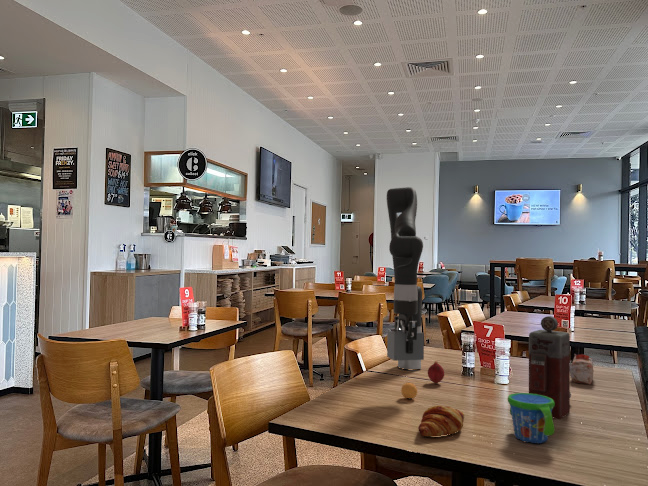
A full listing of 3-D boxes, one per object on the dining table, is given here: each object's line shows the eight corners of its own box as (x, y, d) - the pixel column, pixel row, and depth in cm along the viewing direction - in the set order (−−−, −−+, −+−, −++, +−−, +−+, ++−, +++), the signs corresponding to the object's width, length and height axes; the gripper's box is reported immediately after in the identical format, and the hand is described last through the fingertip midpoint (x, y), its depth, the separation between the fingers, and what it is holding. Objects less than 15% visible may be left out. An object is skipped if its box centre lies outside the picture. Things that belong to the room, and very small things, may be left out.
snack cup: (497, 428, 132) (497, 389, 132) (536, 428, 133) (536, 389, 133) (524, 451, 117) (524, 407, 117) (568, 451, 117) (568, 407, 117)
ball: (402, 378, 161) (415, 385, 162) (396, 393, 160) (408, 399, 161) (409, 381, 156) (422, 388, 157) (402, 396, 155) (415, 403, 156)
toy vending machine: (525, 414, 145) (525, 316, 146) (538, 405, 153) (538, 313, 154) (558, 421, 139) (558, 319, 140) (569, 412, 147) (569, 316, 148)
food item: (594, 386, 179) (594, 358, 179) (569, 383, 182) (569, 356, 183) (593, 378, 191) (593, 352, 191) (570, 375, 194) (570, 350, 195)
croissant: (452, 431, 140) (440, 403, 143) (482, 421, 134) (470, 392, 137) (411, 450, 124) (399, 418, 127) (444, 440, 119) (431, 407, 121)
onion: (445, 386, 175) (446, 363, 176) (429, 385, 176) (429, 362, 176) (442, 381, 181) (442, 359, 182) (426, 381, 181) (426, 359, 182)
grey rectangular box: (387, 356, 162) (387, 330, 162) (415, 355, 164) (416, 330, 164) (394, 360, 155) (394, 333, 156) (423, 359, 157) (423, 333, 158)
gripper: (387, 296, 166) (386, 347, 166) (402, 300, 152) (402, 356, 152) (408, 296, 168) (407, 346, 167) (425, 300, 154) (425, 355, 153)
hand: (405, 351), depth 159 cm, fingers closed on grey rectangular box, 6 cm apart
